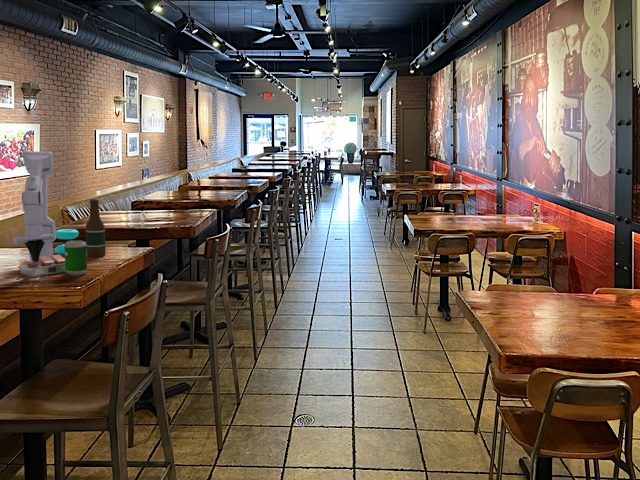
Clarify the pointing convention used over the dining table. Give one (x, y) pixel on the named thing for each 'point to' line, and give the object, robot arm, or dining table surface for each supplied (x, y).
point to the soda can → (75, 257)
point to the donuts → (65, 235)
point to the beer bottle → (95, 232)
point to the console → (42, 269)
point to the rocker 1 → (32, 262)
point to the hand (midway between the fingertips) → (35, 261)
